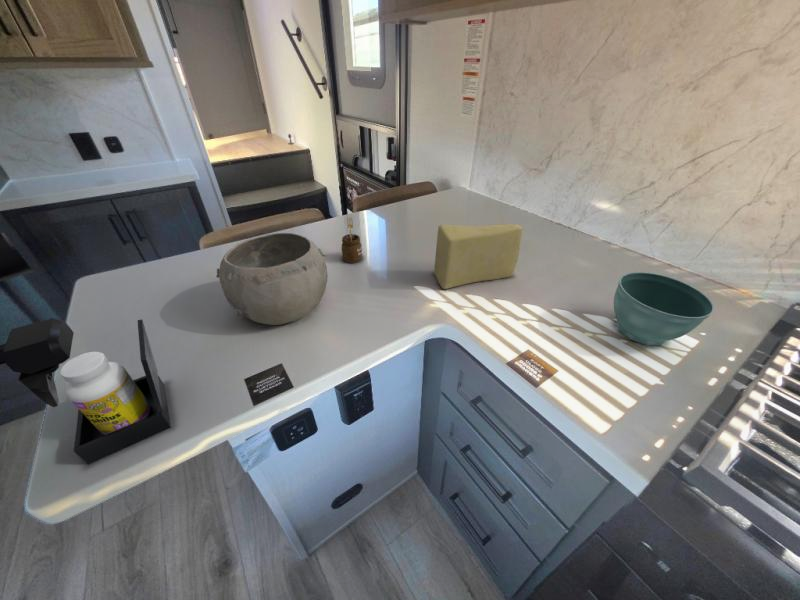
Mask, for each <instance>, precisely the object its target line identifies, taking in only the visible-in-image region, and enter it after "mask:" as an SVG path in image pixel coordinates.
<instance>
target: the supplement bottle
mask: <svg viewBox="0 0 800 600" xmlns="http://www.w3.org/2000/svg"><path fill="white" fill-rule="evenodd" d="M59 372H60V373H59V375H60V376H61V377H62V378H63V379H64V381H65V382H67V383H66V386H65V395H66V397H67V398H68V400H70V401H71V402H72V404H73V405H74V406H75V407H76V408H77V409H79V410H80V411H81V412H82V413H83V414H84V415H85V416H86V417H87V418H88V419H89V421H90V422H91V423H92V424H93V425H94V426H95V427H96V428H97V429H98V430H99V431H100V432H101V433H102V434H103V435H107V434H109V433H111V432H114V431H116V430H118V429H121V428H123V427H126V426H128V425H130V424H133V423H135V422H137V421H140V420H142V419H144V418H147V417H148V415H149V413H150V409H151V407H150V404H149V402H148V400H147V399H146V398H145V396H144V395H143V393H142V392H141V390H140V389H139V388H138V386H137V385H136V384H135V382H134V381H133V380H134V379H133V378H132V376H131V375H130V374H129V372H128V371H127V370H126V368H125V367H124V365H122V364H120V363H118V362H115V361H109V359H108V358H107V357H106V355H105V354H104V353H102V352H100V351H89V352H85V353H82V354H79V355H77V356H75V357H73V358H71V359H70V360H68V361H66V363H64V365H62V366H61V369H60V371H59Z"/></svg>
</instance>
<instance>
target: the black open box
mask: <svg viewBox="0 0 800 600" xmlns="http://www.w3.org/2000/svg"><path fill="white" fill-rule="evenodd" d="M158 380H159V387H160V395H161V403H162V410H163V412H160V413H158V412H157V409H156V406H155V403H154V400H153V397H152V393H151V390H150V387H149V384H148V381H147V378H146V375H143V376H140V377H138V378H135V379H133V381H134V382H135V384H136V385H137V386H138V388H139V389H140V390H141V392H142V393H143V395H144V396H145V398H146V399H147V400H148V402H149V404H150V407H151V409H150V413H149V415H148V417H147V418H144V419H142V420H140V421H137V422H135V423H133V424H130V425H128V426H126V427H123V428H121V429H118V430H116V431H114V432H111V433H109V434H107V435H103V434H102V433H101V432H100V431H99V430H98V429H97V428H96V427H95V426H94V425H93V424H92V423H91V422H90V421H89V419H88V418H87V417H86V416H85V415H84V414H83V413H82V412H81V411H80V410H79V409H78V408H77V409H78V412H77V418H76V428H75V437H74V445H73V447H74V448H73V452H74V453H75V454H76V456H78V457H79V458H80V459H81V460H82V461H83V462H85V463H86V464H87V465H88V466H89V465H91V464H93V463H95V462H97V461H100V460H102V459H105V458H106V457H108V456H110V455H113V454H115V453H117V452H120V451H122V450H124V449H126V448H129V447H131V446H133V445H135V444H138V443H140V442H142V441H144V440H146V439H148V438H150V437H153V436H155V435H157V434H159V433H162V432H164V431H166V430H169V429H170V428H171V420H170V419H171V418H170V414H169V413H170V411H169V407H168V399H167V393H166V387H165V386H166V385H165V384H164V382H163V380H162V379H161V377H160V375H158Z"/></svg>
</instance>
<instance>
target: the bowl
mask: <svg viewBox="0 0 800 600" xmlns="http://www.w3.org/2000/svg"><path fill="white" fill-rule="evenodd" d="M325 256H326V255H325V253H324V252H323V250H322V248H321V247H320V248H319V247H318V246H317V245H316V244H315V242H314V241H312V240H311V239H310V238H308V237H306V236H303V235H300V234H296V233H291V232H278V233H270V234H269V233H268V234H265V235H261V236H260V235H259V236H256V237H253V238H252V237H251V238H249V239H246V240H243V241H241V242H239V243H237V244H236V245H234V246H233V247H232V248H230V249H229V250H227V251H226V253H225V254H224V255H223V257H222V259H221V261H220V264H219V268H216V276H215V277H216V278H218V279H219V283H220V287H221V289H222V292H223V294H224V297H225V299H226V300H227V302H228V304H229V305H230V307H232V308H233V310H235V311H236V314H237V316H238V318H240V320H244V319H245V318H246V319H249V320H251V321H253V322H255V323H259V324H263V325H267V326H280V325H284V324H289V323H290V324H291V323H293V322H296V321H299V320H301V319H303V318H304V317H306V316H308V315H309V314H311V313H312V312H313V311H314V310H315V309H316V308H317V307H318V305H319V304H320V302H321V300H322V298H323V297H324V294H325V292H326V288H327V284H328V278H329V277H328V276H329V275H328V267H327V263H326V261H325V258H324V257H325Z"/></svg>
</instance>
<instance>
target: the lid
mask: <svg viewBox="0 0 800 600" xmlns="http://www.w3.org/2000/svg"><path fill="white" fill-rule="evenodd" d="M143 320H144V319H137V331H138V344H139V354H140V355H139V357H140V362H141V366H142V369H143V372H144V376H146V378H147V381H148V384H149V387H150V390H151V393H152V397H153V400H154V403H155V406H156V409H157V412H158V413H160V412H163V410H162V403H161V395H160V387H159V380H158V376H159V373H158V372H159V371H158V367H157V365H156V361H155V357H154V355H153V351H152V348H151V344H150V341H149V337H148V334H147V331H146V328H145V324H144V321H143Z"/></svg>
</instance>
